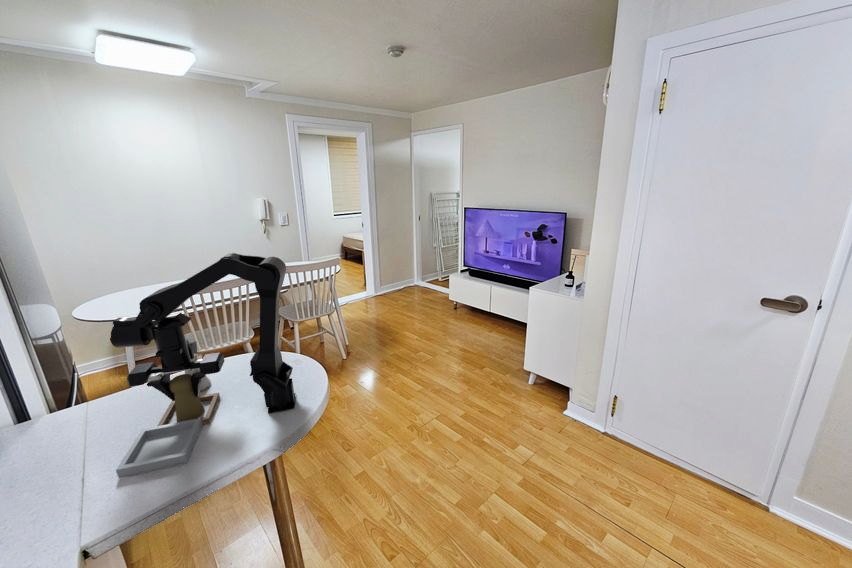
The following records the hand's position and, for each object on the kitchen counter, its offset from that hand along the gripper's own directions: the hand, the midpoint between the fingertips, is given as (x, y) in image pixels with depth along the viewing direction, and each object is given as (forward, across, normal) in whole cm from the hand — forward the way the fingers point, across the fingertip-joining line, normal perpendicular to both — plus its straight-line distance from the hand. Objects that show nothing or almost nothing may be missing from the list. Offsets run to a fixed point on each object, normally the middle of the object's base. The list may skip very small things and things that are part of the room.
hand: (186, 397), depth 86 cm
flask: (+5, +2, -13) cm, 14 cm away
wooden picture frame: (+5, 0, 0) cm, 5 cm away
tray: (+5, +2, +12) cm, 13 cm away
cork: (+5, 0, 0) cm, 5 cm away
